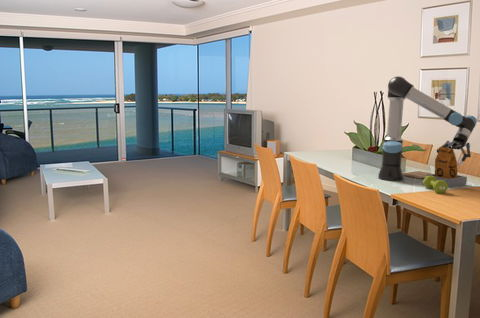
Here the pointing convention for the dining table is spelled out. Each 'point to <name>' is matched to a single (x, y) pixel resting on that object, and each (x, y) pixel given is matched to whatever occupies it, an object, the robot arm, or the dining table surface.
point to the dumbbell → (435, 184)
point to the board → (416, 174)
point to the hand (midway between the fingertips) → (447, 163)
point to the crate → (453, 180)
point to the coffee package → (446, 163)
